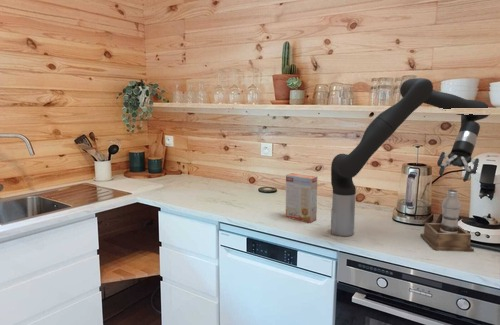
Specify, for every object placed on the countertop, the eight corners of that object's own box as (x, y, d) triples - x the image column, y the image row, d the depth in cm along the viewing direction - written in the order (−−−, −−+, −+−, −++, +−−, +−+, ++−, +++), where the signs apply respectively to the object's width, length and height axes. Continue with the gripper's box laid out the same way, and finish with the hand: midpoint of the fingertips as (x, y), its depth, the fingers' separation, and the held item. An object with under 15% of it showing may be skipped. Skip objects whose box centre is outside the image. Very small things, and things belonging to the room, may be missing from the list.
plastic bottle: (451, 237, 141) (455, 188, 138) (461, 244, 135) (466, 193, 131) (435, 237, 141) (439, 188, 138) (444, 244, 135) (449, 193, 131)
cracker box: (317, 220, 167) (318, 176, 163) (310, 223, 162) (311, 178, 159) (292, 214, 176) (292, 172, 172) (285, 217, 172) (285, 174, 168)
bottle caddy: (433, 250, 132) (434, 234, 131) (420, 236, 146) (421, 222, 145) (473, 251, 131) (475, 236, 130) (456, 237, 144) (457, 223, 143)
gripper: (445, 136, 150) (432, 169, 146) (484, 143, 142) (472, 178, 137) (445, 145, 156) (434, 177, 152) (483, 152, 147) (472, 186, 143)
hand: (452, 178), depth 145 cm, fingers open, 8 cm apart
